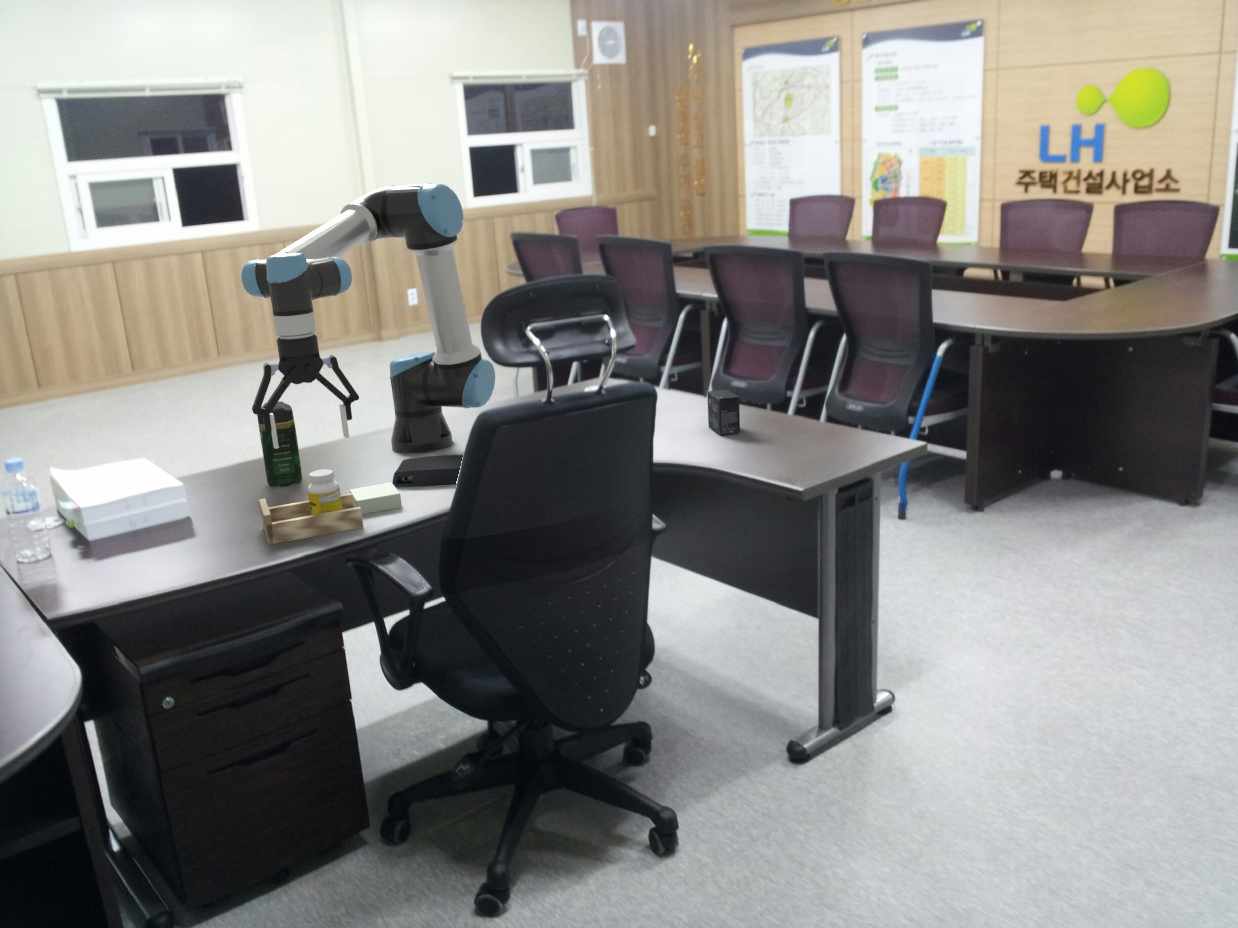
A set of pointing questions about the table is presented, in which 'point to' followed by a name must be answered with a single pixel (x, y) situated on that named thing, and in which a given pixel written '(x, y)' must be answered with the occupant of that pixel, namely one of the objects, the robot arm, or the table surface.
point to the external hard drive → (428, 471)
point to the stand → (376, 498)
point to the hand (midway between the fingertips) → (311, 441)
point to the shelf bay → (307, 520)
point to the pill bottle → (323, 492)
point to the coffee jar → (281, 448)
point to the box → (723, 412)
